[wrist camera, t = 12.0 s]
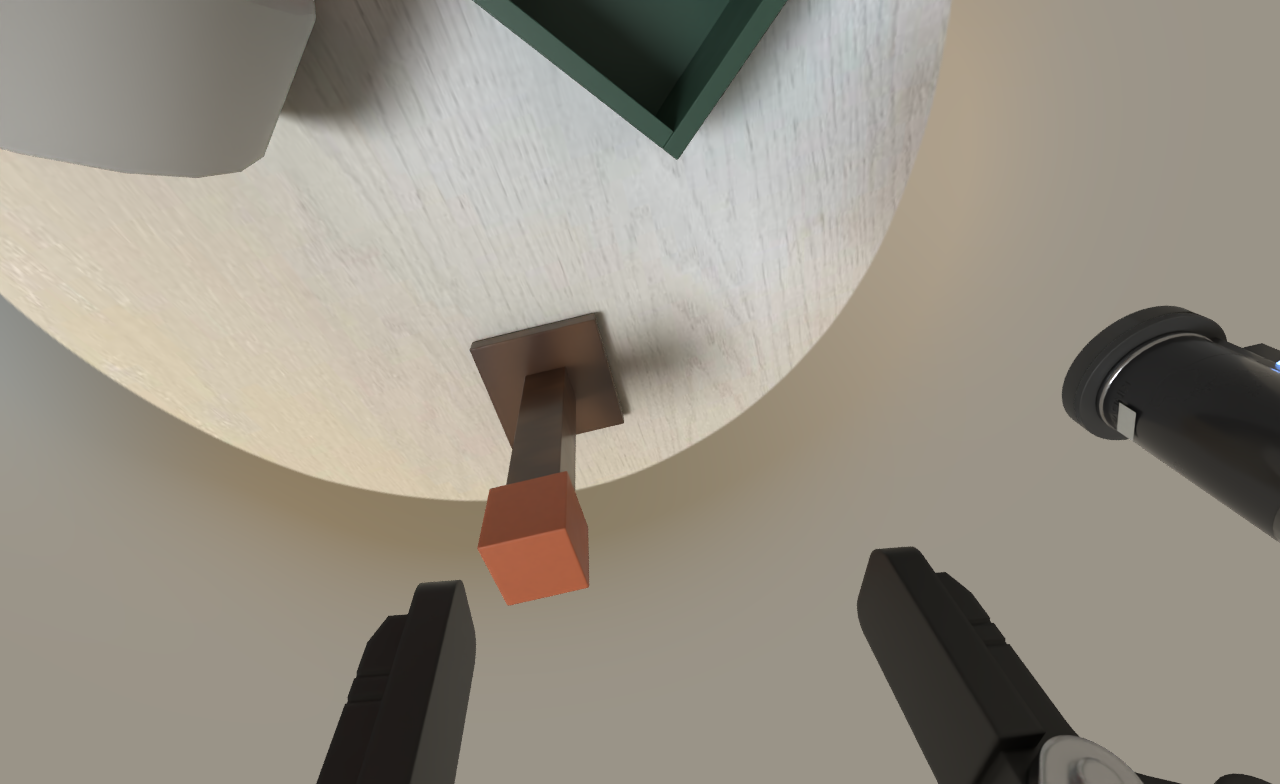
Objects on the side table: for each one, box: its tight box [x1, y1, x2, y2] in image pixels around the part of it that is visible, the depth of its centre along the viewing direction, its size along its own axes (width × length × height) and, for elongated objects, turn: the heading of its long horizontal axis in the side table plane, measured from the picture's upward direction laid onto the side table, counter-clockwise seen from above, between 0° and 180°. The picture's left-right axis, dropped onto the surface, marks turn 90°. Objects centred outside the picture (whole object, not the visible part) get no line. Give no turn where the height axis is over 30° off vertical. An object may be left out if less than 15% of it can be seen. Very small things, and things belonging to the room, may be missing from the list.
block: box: [478, 471, 589, 605], centre depth 28 cm, size 4×4×4 cm
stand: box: [470, 313, 624, 491], centre depth 36 cm, size 9×9×14 cm
